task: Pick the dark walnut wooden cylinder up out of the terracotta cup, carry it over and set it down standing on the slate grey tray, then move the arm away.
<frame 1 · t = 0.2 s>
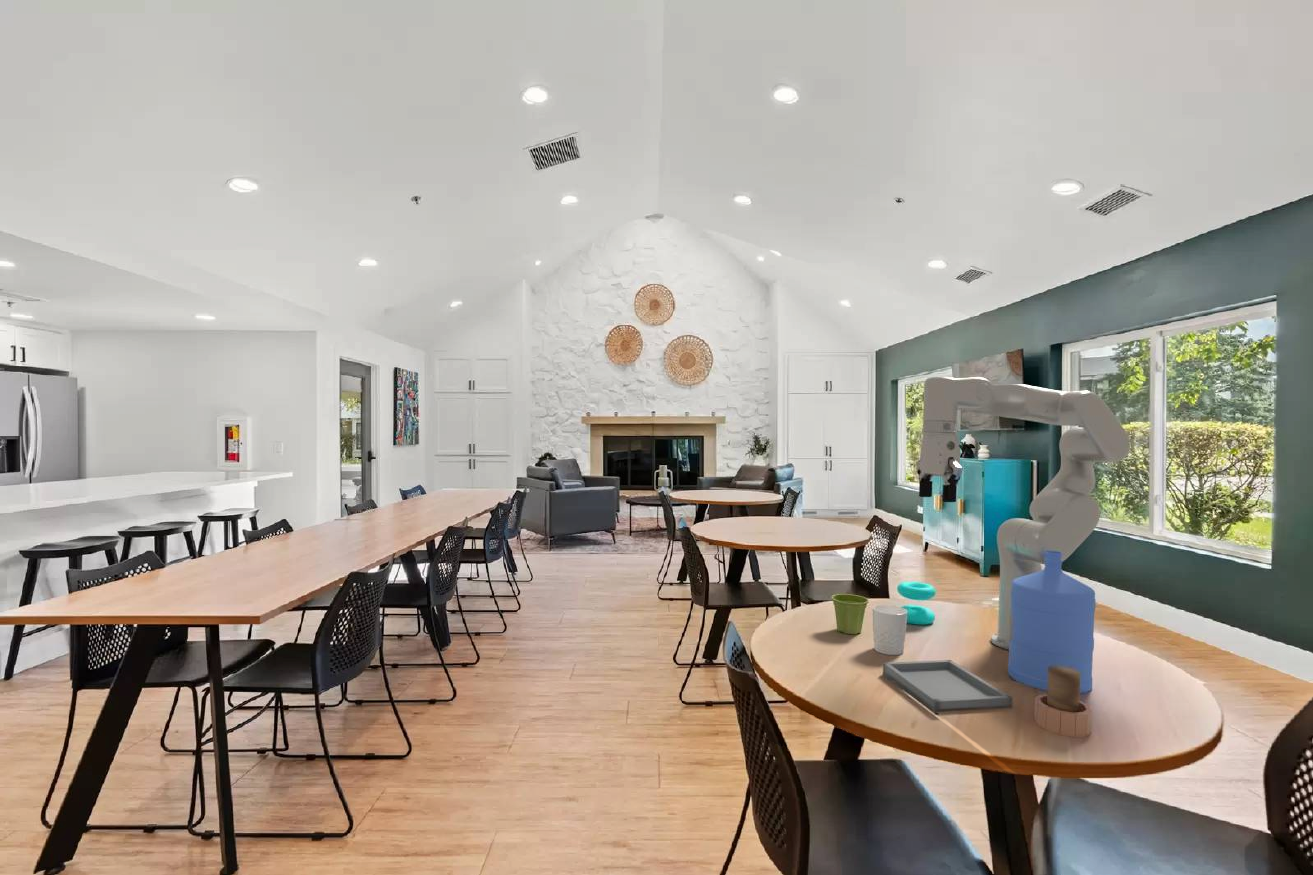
hand: (936, 499, 161), 37 cm above the table, tool pointing down, fingers open, 9 cm apart
walnut cylinder: (1062, 725, 121), point 1 cm above the table, touching terracotta cup
terracotta cup: (1062, 728, 121), on the table
white cup: (888, 651, 161), on the table
donuts: (915, 621, 186), on the table
water jug: (1048, 682, 143), on the table
slate tray: (943, 691, 137), on the table
plant pot: (849, 631, 175), on the table
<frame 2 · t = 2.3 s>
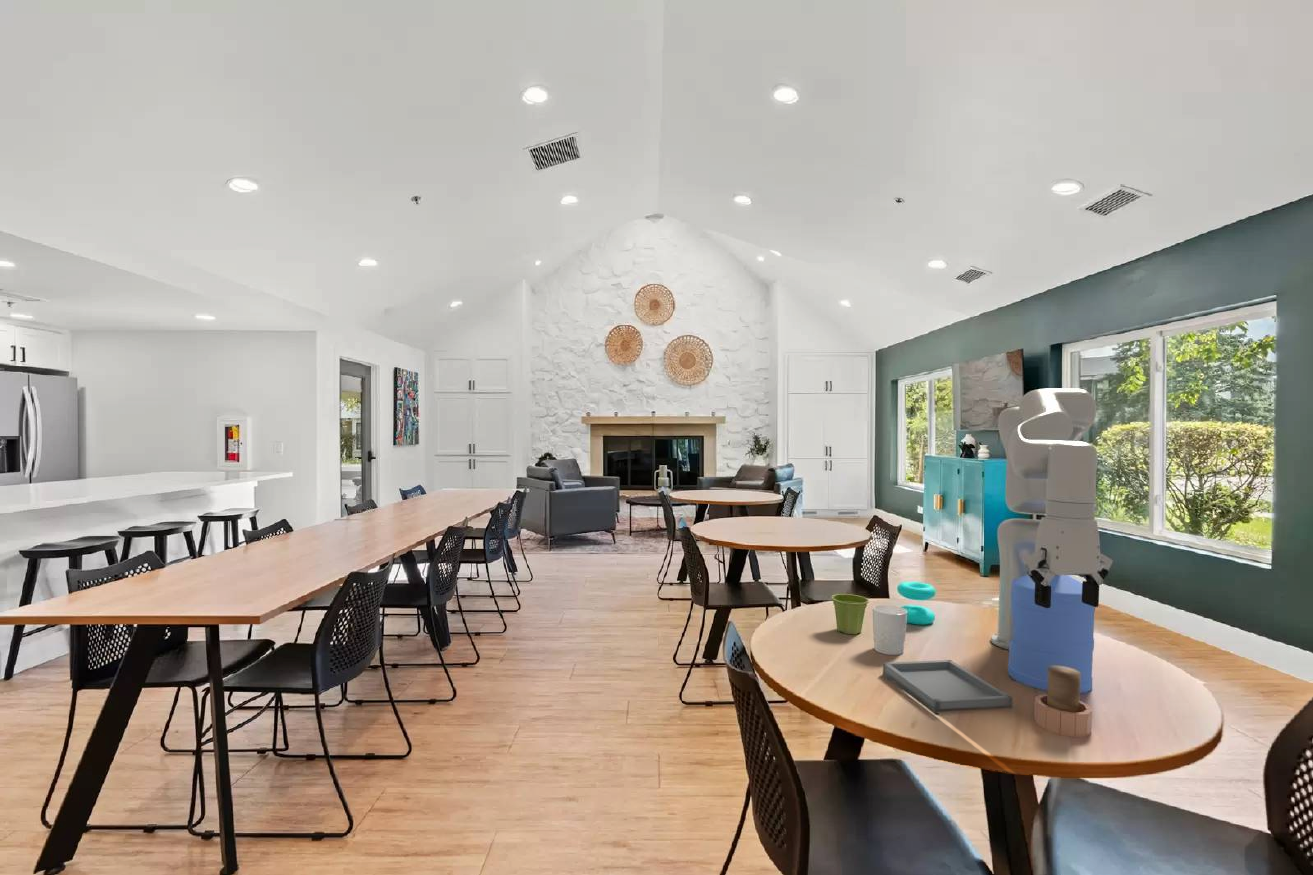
hand: (1066, 605, 121), 22 cm above the table, tool pointing down, fingers open, 9 cm apart
nothing on the table moved.
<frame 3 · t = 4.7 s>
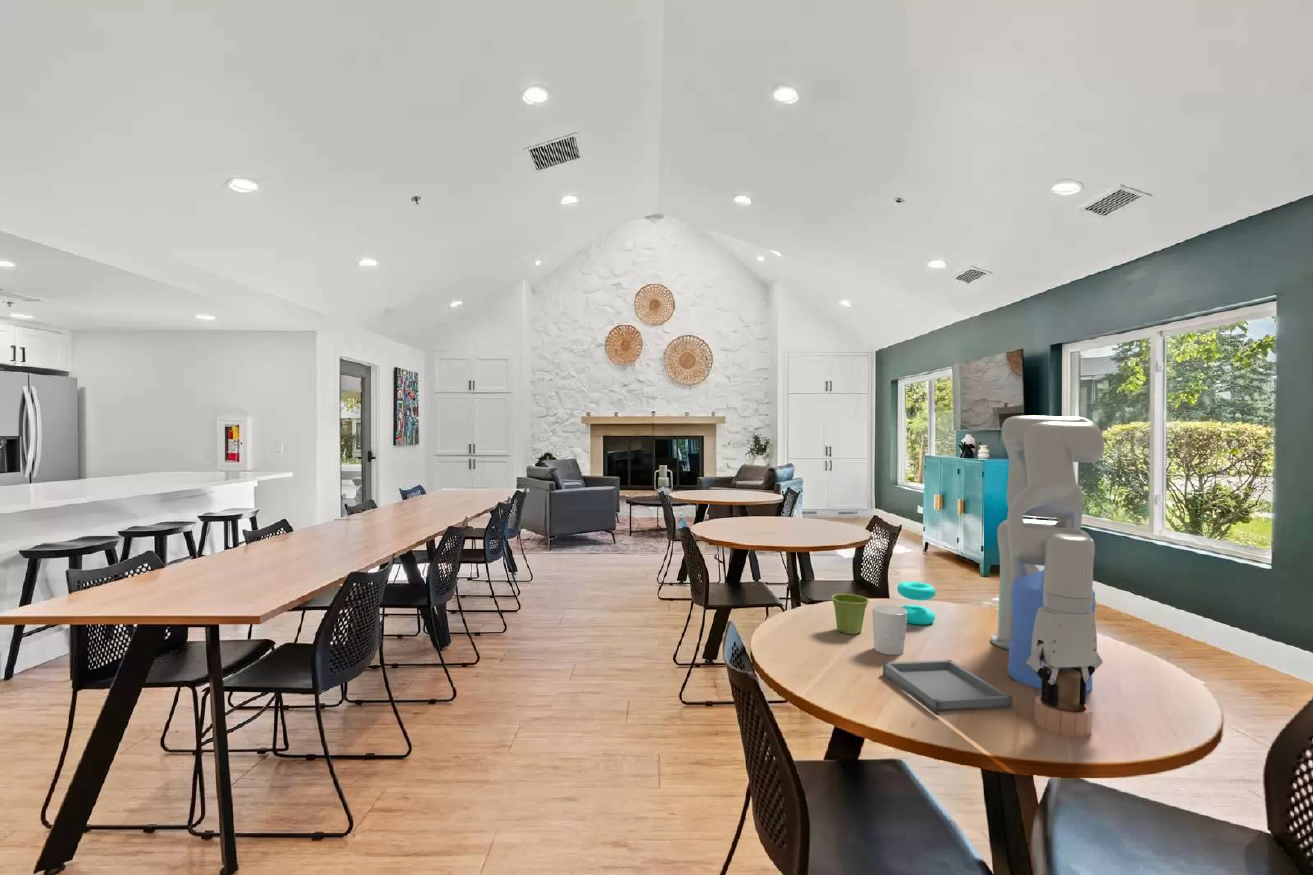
hand: (1063, 701, 121), 5 cm above the table, tool pointing down, fingers closed on walnut cylinder, 5 cm apart
walnut cylinder: (1062, 725, 121), point 1 cm above the table, touching gripper, terracotta cup
everything else where it was.
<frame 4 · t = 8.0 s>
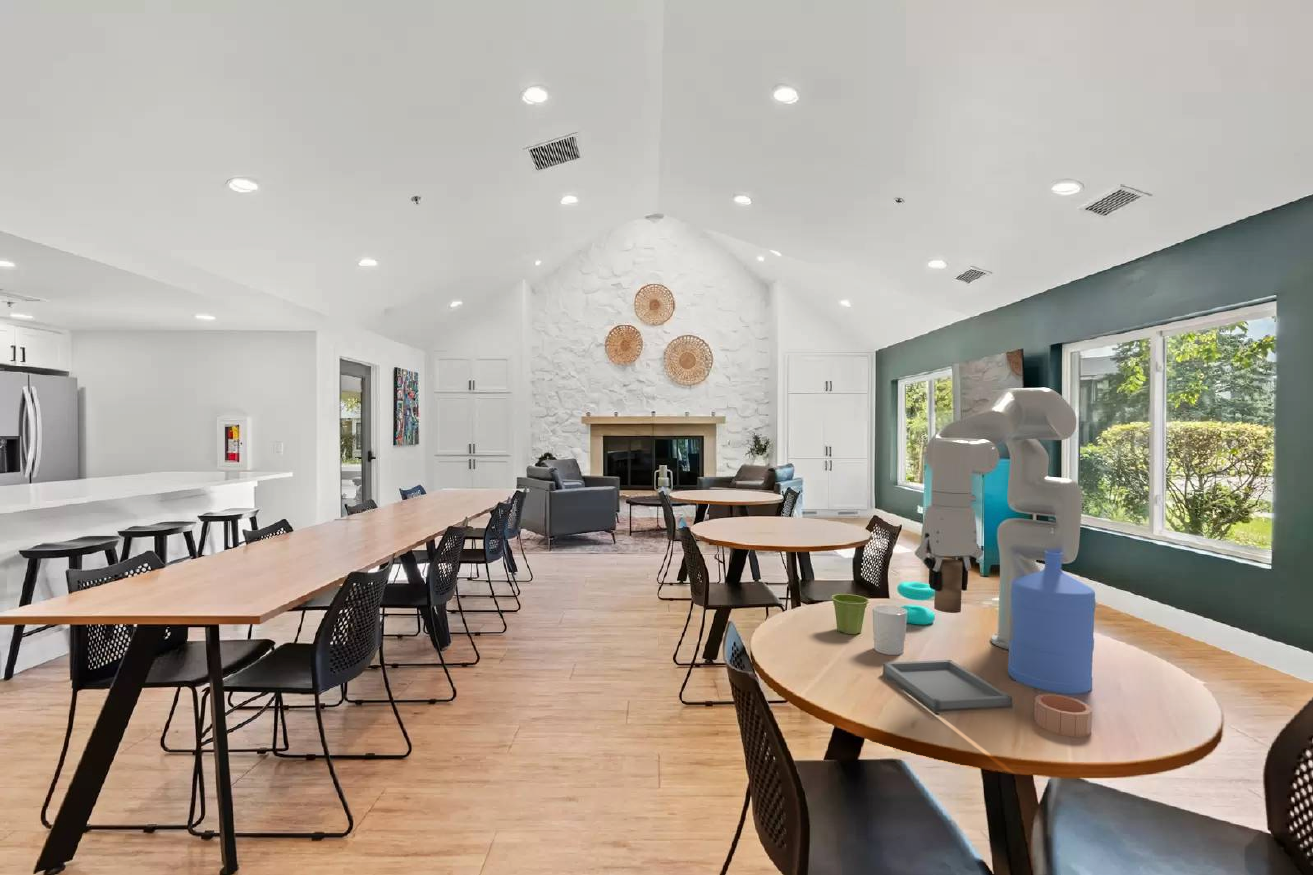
hand: (948, 588, 136), 21 cm above the table, tool pointing down, fingers closed on walnut cylinder, 5 cm apart
walnut cylinder: (947, 609, 136), point 17 cm above the table, touching gripper
everything else where it was.
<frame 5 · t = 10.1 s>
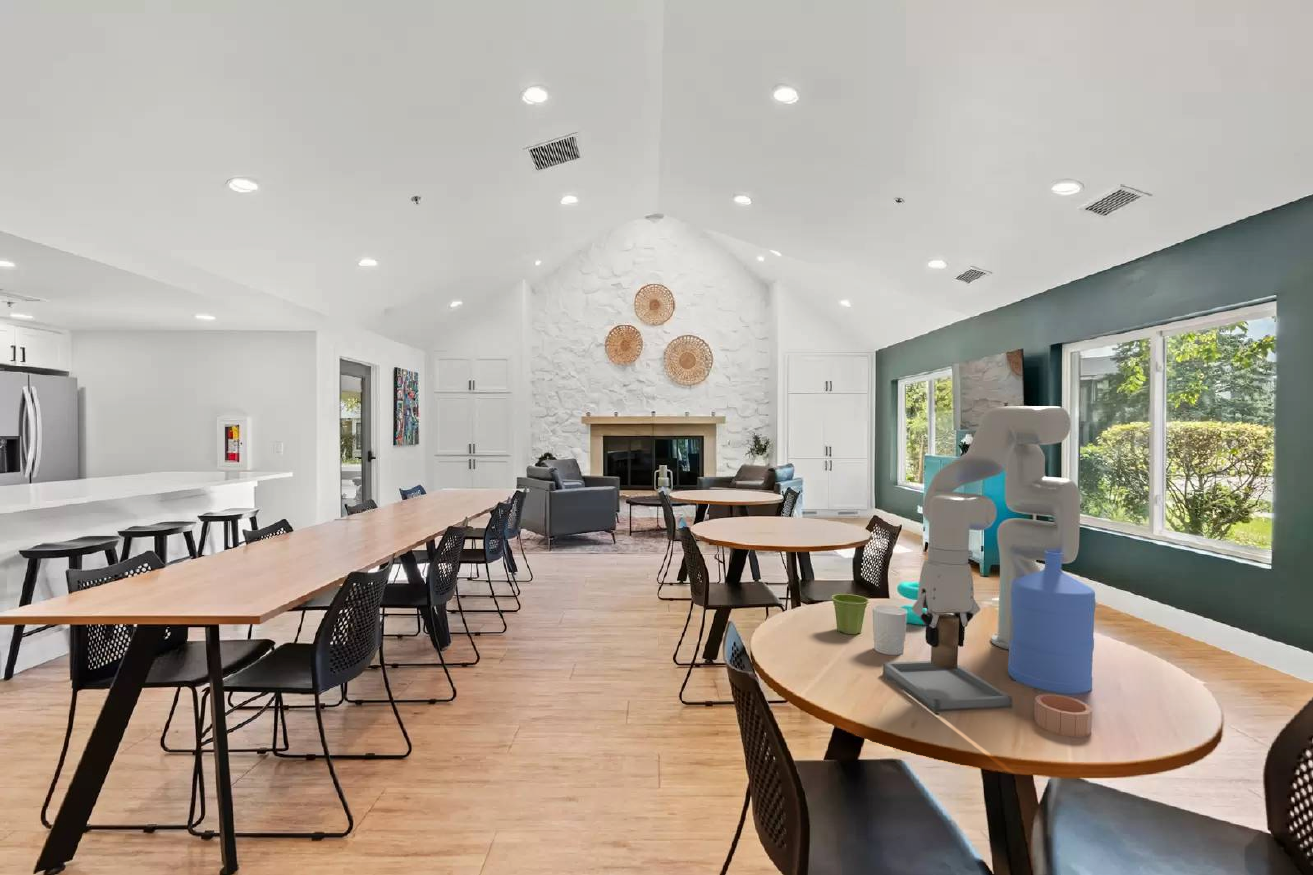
hand: (944, 644, 137), 10 cm above the table, tool pointing down, fingers closed on walnut cylinder, 5 cm apart
walnut cylinder: (943, 664, 137), point 5 cm above the table, touching gripper
everything else where it was.
when the fingers open (7 cm above the table, at t = 11.6 s): walnut cylinder drops 1 cm, resting on slate tray.
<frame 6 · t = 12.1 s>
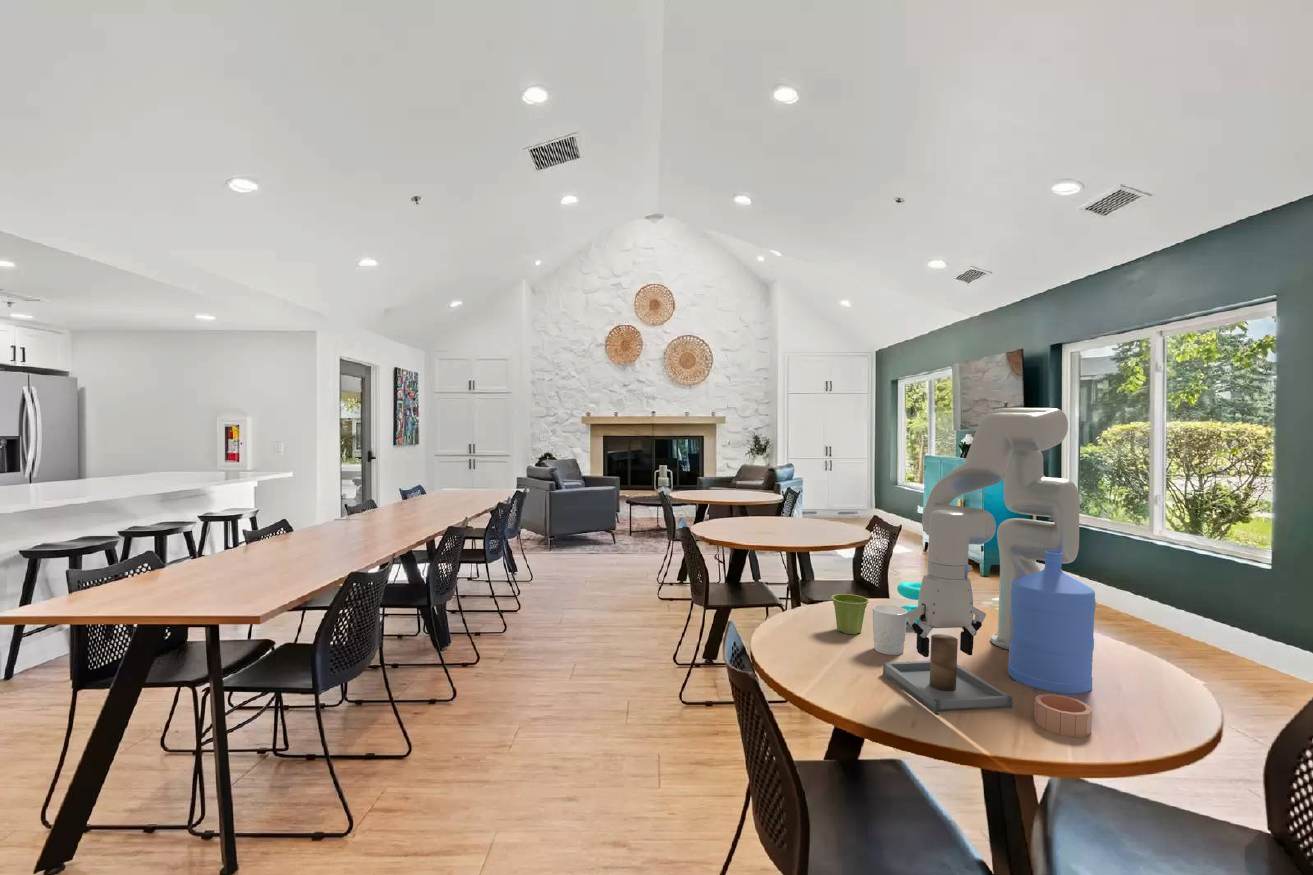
hand: (944, 654, 137), 8 cm above the table, tool pointing down, fingers open, 9 cm apart
walnut cylinder: (942, 686, 137), point 1 cm above the table, touching slate tray
everything else where it was.
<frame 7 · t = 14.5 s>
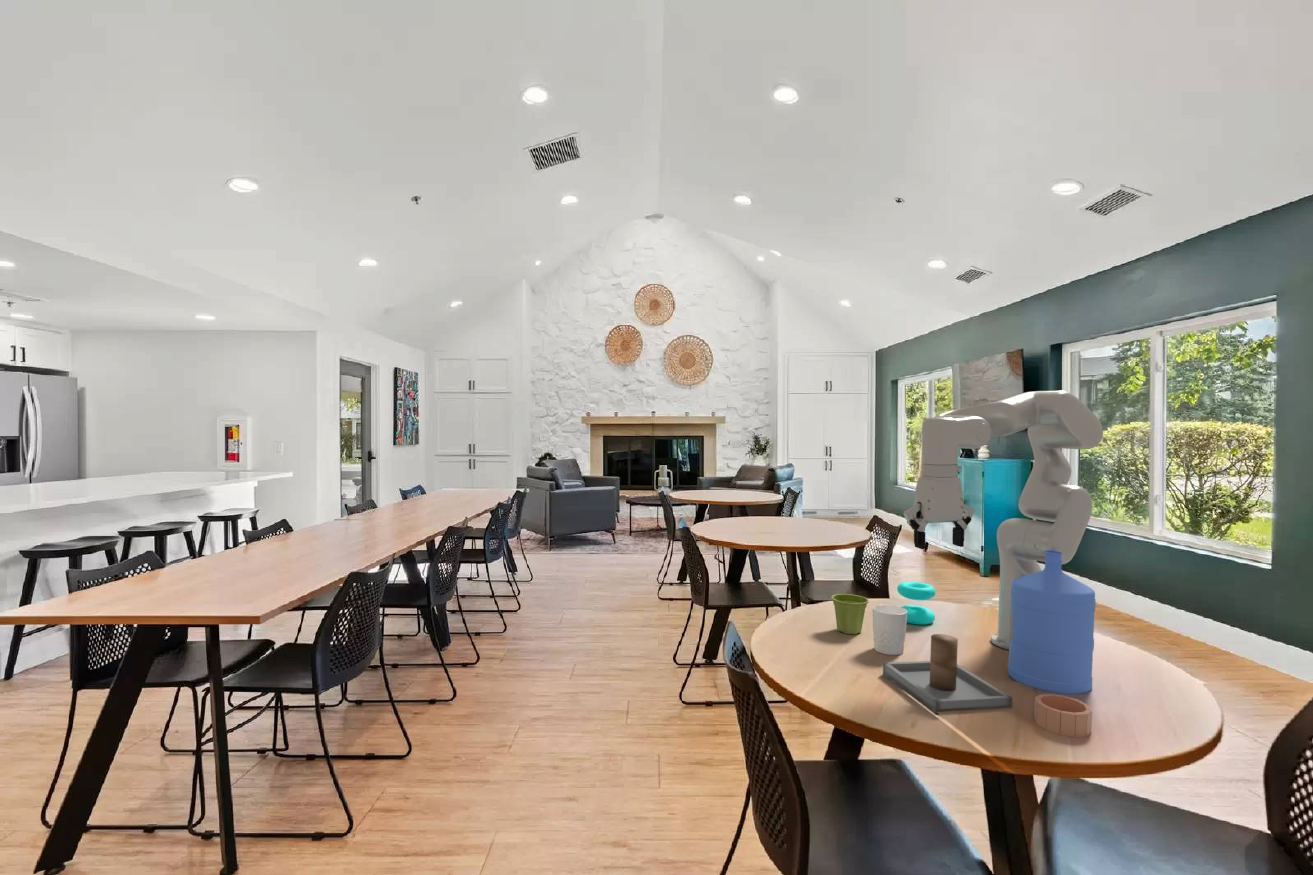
hand: (939, 546, 152), 27 cm above the table, tool pointing down, fingers open, 9 cm apart
nothing on the table moved.
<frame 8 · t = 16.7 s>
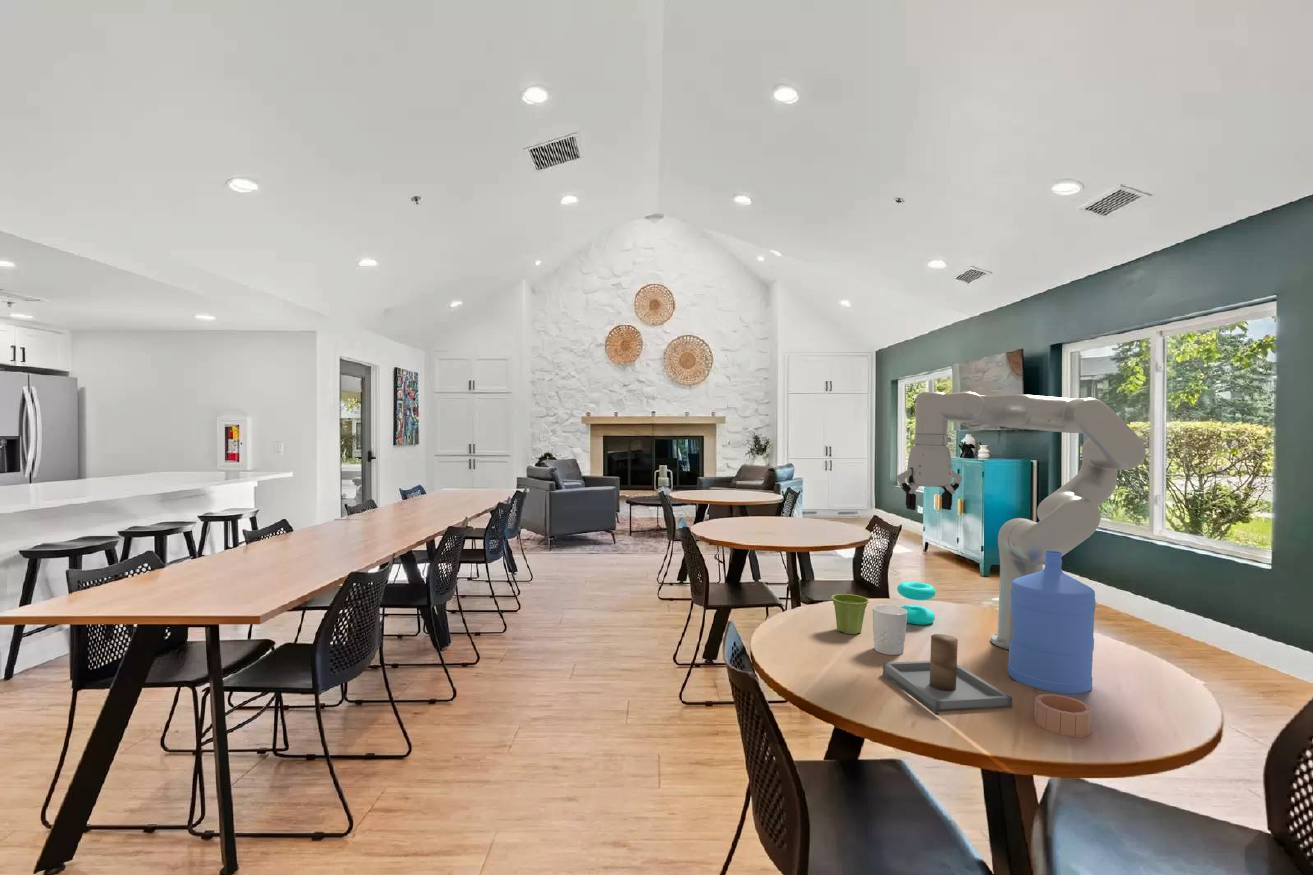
hand: (928, 509, 168), 33 cm above the table, tool pointing down, fingers open, 9 cm apart
nothing on the table moved.
at the end: walnut cylinder inside the target area on the slate tray (0.2 cm from its centre), point 1.0 cm above the slate tray's base; walnut cylinder tilted 0°; the gripper is holding nothing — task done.
